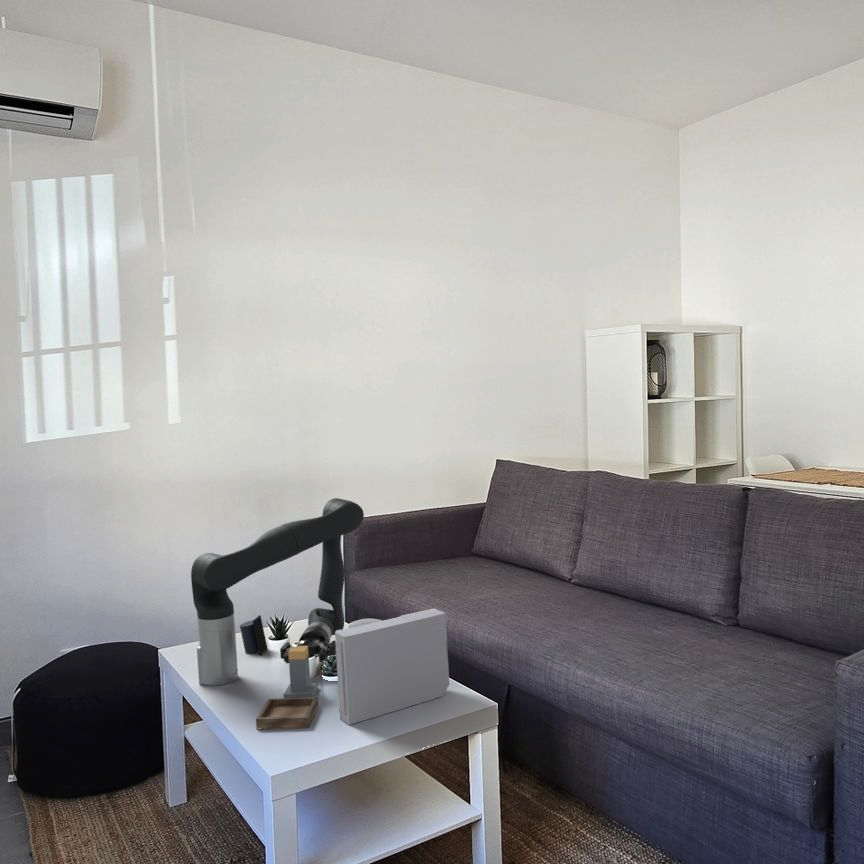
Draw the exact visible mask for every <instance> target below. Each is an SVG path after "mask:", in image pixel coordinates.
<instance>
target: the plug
mask: <svg viewBox="0 0 864 864" xmlns="http://www.w3.org/2000/svg"><path fill="white" fill-rule="evenodd" d="M288 653H289V663H288V666H289V667H288V668H289V681H290V682H289V684H288V686H287V688H286V690H285V691H284V693H283V698H308V697H315V695H316V693H317V691H318V689H319V688H318V687H319V685H318V682H311V676H310V675H311V672H310V671H311V670H310V657H309V654H308V646H292V647H291V648H290V650H289V651H288Z"/></svg>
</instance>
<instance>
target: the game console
mask: <svg viewBox="0 0 864 864" xmlns="http://www.w3.org/2000/svg"><path fill="white" fill-rule="evenodd" d="M447 629H448V628H447V613H446V612H445V611H442V610H440V609H436V608H430V609H426V610H419V611H416V612H412V613H407V614H402V615H399V616H398V617H393V618H388V619H383V620H382V621H379V622H375V623H371V624H366V625H362V626H358V627H353V628H349V629H348V628H345V629H344V628H343V630H336V632H335V635H334V638H335V640H336V641H335V644H336V655H335V657H336V659H335V660H336V672H337V676H336V677H337V691H338V692H337V693H338V698H339V701H338V703H339V705H338V706H339V707H338V711H339V719H340V720H341V721H343V722H344V723H346V724H347V725H349V726H350V725H353V724H356V723H361V722H363V721H365V720H370V719H372V718H373V719H374V718H377V717H380V716H383V715H385V714H389V713H393V712H395V711H398V710H399V711H400V710H402V709H405V708H409V707H412V705H413V706H416V705H419V704H422V702H423V703H425V701H426V702H430V701H432V700H435V698H436V699H438V697H439V698H441V696H442V697H443V696H444V695H445V693H446V691H447V689H448V687H449V685H450V673H449V672H450V671H449V670H450V669H449V654H448V652H449V651H448V649H449V648H448V633H447V631H448V630H447ZM415 704H416V705H415Z"/></svg>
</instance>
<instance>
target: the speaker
mask: <svg viewBox="0 0 864 864" xmlns="http://www.w3.org/2000/svg"><path fill="white" fill-rule="evenodd" d="M239 629H240V633H241V638H242V642H243V648H244V653H246V654H253V653H256V652H258V653H259V657H260V656H263V654H265V653H266V651H268V645H267V644H268V643H267V640H266V635H265V631H264V624H263V620H262V616H261V615H258V616H256V617H255V618H254V619H253V620H249V621H246V622H243V623H241V624H239Z"/></svg>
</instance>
